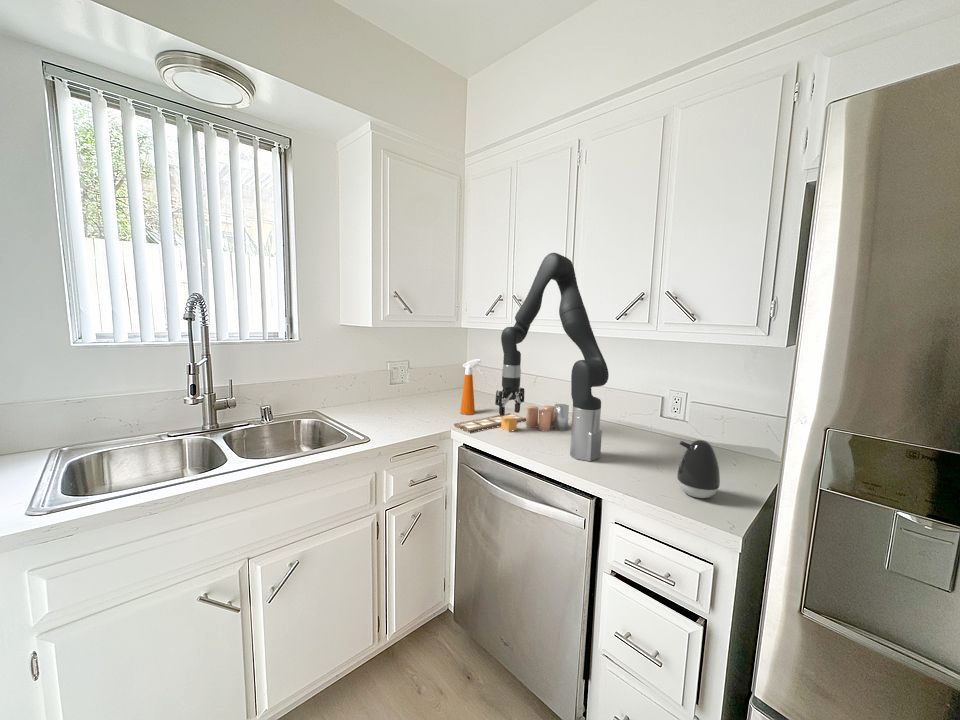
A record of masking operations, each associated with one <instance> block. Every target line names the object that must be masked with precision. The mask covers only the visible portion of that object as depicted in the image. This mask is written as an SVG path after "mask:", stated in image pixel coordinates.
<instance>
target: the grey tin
mask: <svg viewBox="0 0 960 720" xmlns="http://www.w3.org/2000/svg"><path fill="white" fill-rule="evenodd" d="M569 411H570V406H569V405H568V404H565V403H556V404H554V424H553V429H554V430H556V429H557V431H567V430H568V427H569Z"/></svg>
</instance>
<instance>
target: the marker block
mask: <svg viewBox="0 0 960 720" xmlns="http://www.w3.org/2000/svg"><path fill="white" fill-rule="evenodd" d="M517 426H518V423H517V419H516V418H513V417H510V416H508V417H503V418H501V426H500V430H501V429H503V430H502V431H504V430H507V431H511V432H513V431H512V430H516V431H517ZM507 431H506V432H507Z"/></svg>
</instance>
